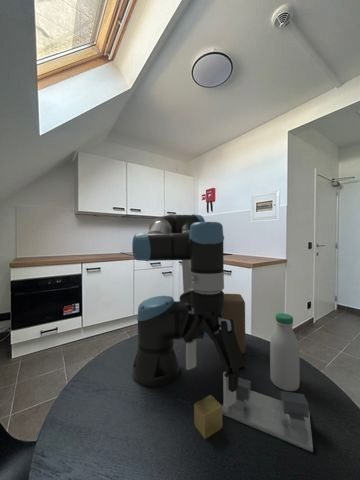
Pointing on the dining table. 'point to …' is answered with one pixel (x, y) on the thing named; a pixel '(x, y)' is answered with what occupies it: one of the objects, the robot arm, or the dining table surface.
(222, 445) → the dining table surface
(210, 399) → the gold cube-like block
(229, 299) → the wooden block
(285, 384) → the milk bottle
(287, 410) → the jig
